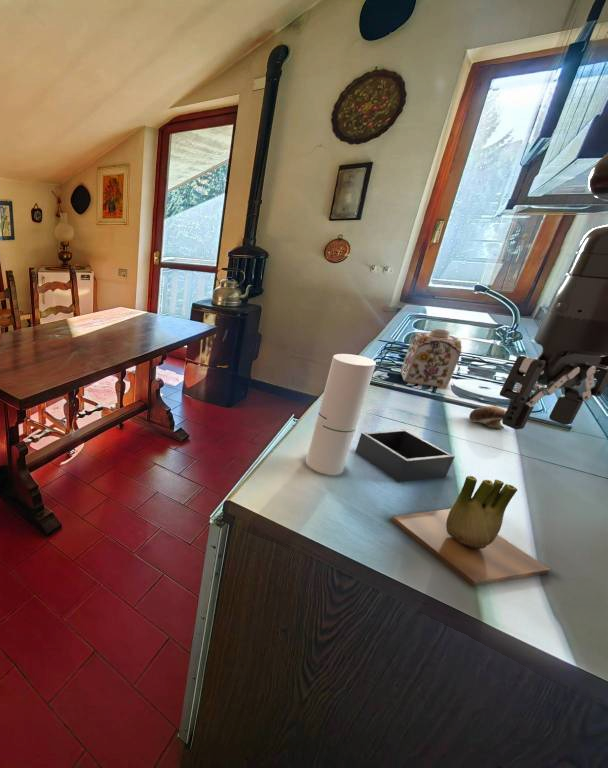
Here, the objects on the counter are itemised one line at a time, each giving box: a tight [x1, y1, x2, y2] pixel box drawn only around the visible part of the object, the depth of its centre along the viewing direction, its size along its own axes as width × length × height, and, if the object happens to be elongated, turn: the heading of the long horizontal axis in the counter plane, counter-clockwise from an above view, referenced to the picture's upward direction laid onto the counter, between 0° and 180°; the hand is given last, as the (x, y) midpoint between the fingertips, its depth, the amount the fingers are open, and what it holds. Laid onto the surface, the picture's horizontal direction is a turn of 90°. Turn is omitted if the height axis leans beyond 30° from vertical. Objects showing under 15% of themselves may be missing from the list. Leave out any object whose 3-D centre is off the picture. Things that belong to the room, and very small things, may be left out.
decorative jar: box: [400, 328, 462, 389], centre depth 131 cm, size 12×12×18 cm
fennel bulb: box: [446, 475, 518, 549], centre depth 62 cm, size 6×5×12 cm
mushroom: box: [468, 405, 507, 430], centre depth 104 cm, size 8×8×6 cm
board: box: [390, 508, 551, 587], centre depth 64 cm, size 14×14×1 cm
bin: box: [355, 428, 455, 483], centre depth 85 cm, size 12×12×6 cm
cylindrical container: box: [305, 353, 377, 476], centre depth 81 cm, size 7×7×25 cm
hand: (535, 424), depth 56 cm, fingers open, 8 cm apart
